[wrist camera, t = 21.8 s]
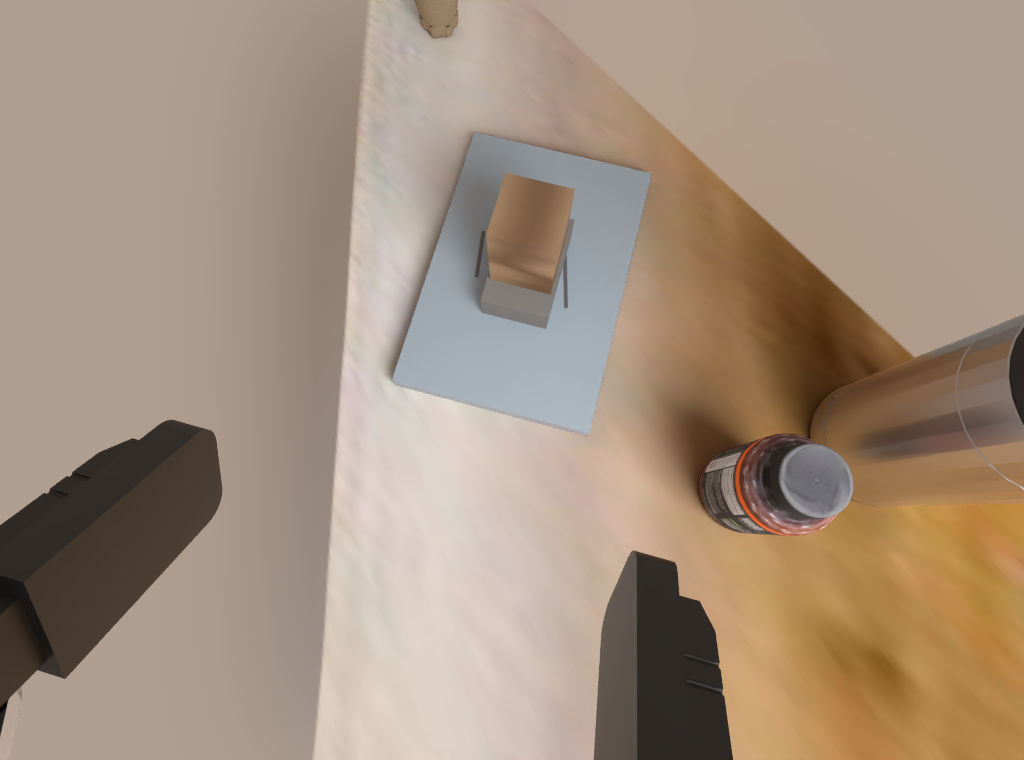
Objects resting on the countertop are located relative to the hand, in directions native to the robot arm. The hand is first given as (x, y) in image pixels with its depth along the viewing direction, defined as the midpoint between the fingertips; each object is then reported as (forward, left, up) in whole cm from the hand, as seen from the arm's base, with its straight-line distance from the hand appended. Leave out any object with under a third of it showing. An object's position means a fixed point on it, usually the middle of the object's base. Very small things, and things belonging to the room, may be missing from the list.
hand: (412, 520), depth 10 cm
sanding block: (+2, -18, -29) cm, 35 cm away
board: (+2, -19, -31) cm, 36 cm away
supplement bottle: (-17, -7, -31) cm, 36 cm away
